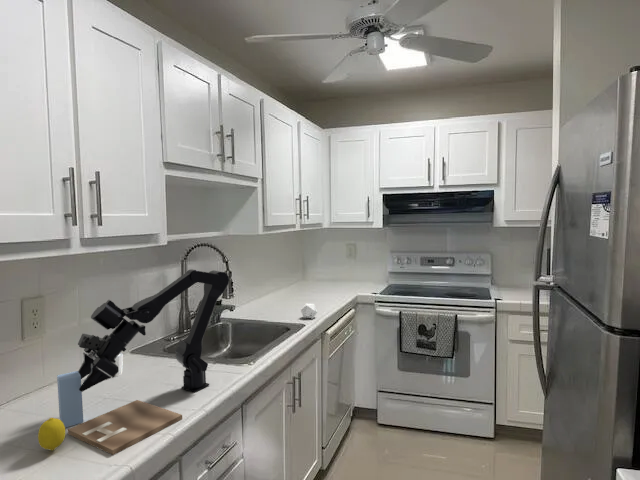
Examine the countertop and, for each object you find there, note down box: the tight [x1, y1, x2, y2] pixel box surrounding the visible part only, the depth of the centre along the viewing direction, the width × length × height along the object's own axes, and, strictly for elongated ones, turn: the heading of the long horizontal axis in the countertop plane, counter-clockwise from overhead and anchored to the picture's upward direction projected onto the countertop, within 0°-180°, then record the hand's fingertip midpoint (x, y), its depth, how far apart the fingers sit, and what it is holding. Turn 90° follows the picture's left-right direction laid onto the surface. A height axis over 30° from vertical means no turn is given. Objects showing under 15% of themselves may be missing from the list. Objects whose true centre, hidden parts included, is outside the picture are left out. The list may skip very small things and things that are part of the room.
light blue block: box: [56, 370, 84, 429], centre depth 113 cm, size 5×5×13 cm
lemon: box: [37, 417, 66, 452], centre depth 99 cm, size 6×6×8 cm
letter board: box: [67, 399, 183, 456], centre depth 110 cm, size 20×20×1 cm
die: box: [300, 303, 318, 320], centre depth 228 cm, size 8×9×10 cm
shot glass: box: [111, 352, 124, 378], centre depth 149 cm, size 7×7×7 cm
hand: (77, 385), depth 114 cm, fingers open, 9 cm apart
